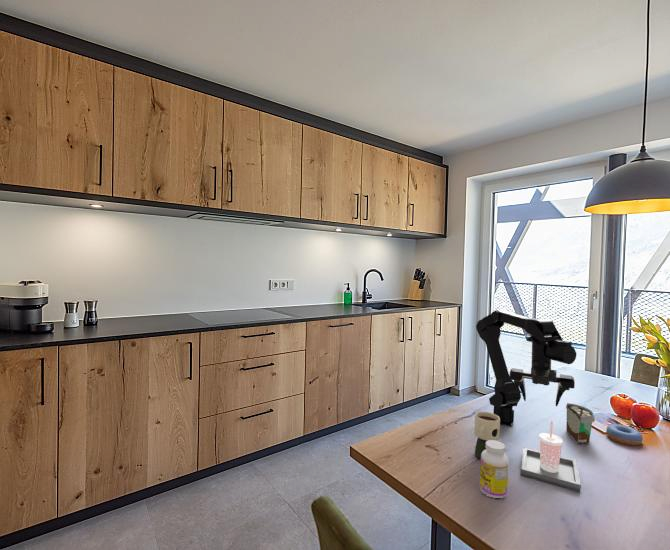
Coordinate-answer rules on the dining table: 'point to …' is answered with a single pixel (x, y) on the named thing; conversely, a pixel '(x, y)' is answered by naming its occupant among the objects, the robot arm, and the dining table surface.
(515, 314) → the robot arm
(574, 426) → the food container
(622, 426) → the doughnut
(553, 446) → the beverage cup
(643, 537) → the dining table surface
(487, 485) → the supplement bottle
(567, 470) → the tray
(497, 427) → the character mug
